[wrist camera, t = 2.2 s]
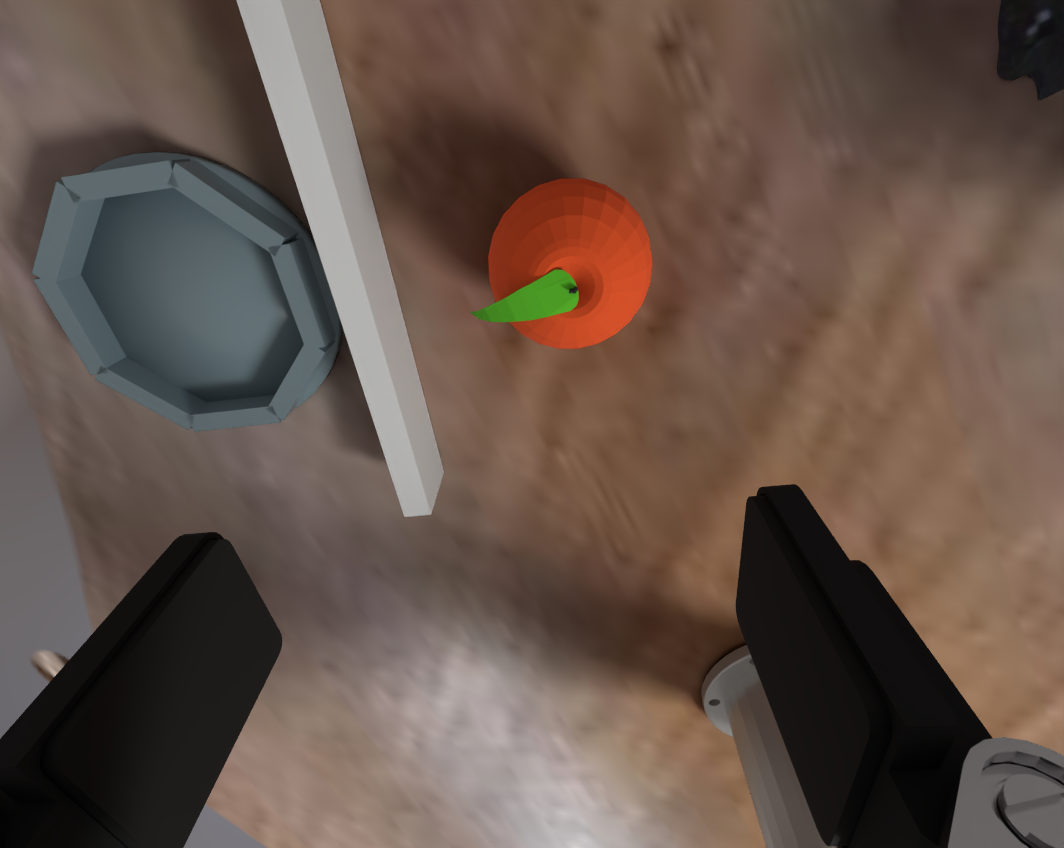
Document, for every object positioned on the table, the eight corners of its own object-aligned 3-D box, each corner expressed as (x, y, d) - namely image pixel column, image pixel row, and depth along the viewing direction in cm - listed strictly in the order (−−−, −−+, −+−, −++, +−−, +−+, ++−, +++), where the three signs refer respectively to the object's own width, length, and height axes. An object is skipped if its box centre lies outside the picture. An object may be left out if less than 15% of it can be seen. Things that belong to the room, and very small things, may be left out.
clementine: (510, 345, 28) (498, 409, 22) (451, 217, 25) (418, 248, 19) (656, 289, 26) (689, 340, 20) (613, 144, 23) (636, 151, 17)
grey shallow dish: (287, 130, 23) (262, 131, 21) (373, 402, 30) (361, 422, 28) (9, 174, 24) (-39, 179, 22) (152, 426, 31) (125, 447, 29)
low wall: (310, -34, 20) (261, -67, 17) (443, 472, 32) (431, 514, 29) (273, -28, 20) (217, -59, 17) (420, 474, 32) (404, 516, 29)
